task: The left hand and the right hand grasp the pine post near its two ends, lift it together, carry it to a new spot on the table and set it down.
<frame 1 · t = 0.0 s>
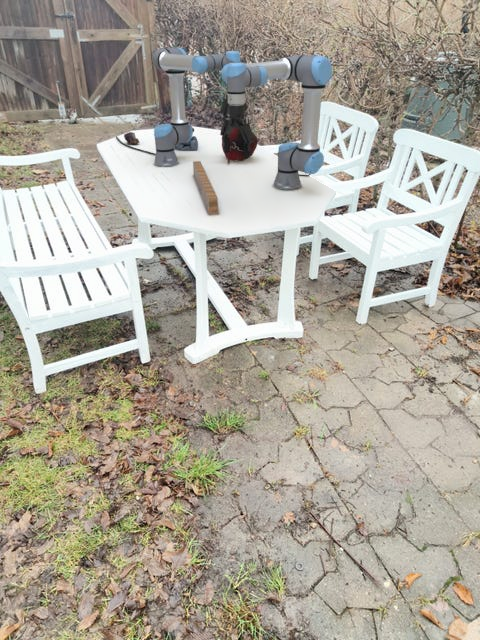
left hand: (234, 125, 259), 28 cm above the table, tool pointing down, fingers open, 13 cm apart
right hand: (236, 155, 205), 28 cm above the table, tool pointing down, fingers open, 13 cm apart
rock: (132, 144, 339), on the table
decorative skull: (239, 159, 302), on the table
post: (204, 192, 247), on the table
grey slotted block: (186, 148, 327), on the table
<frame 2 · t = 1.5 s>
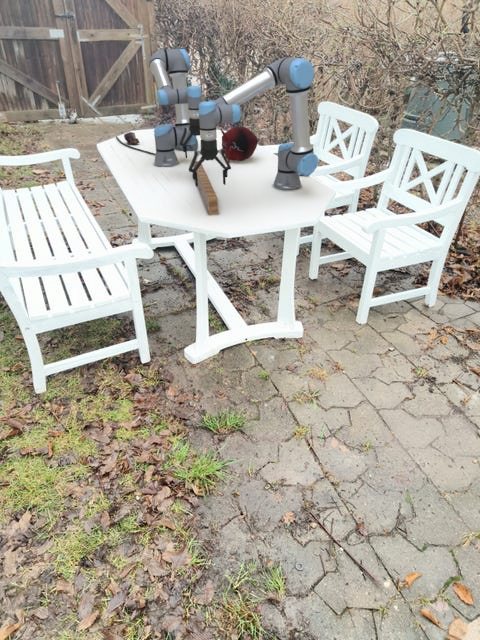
left hand: (198, 157, 261), 12 cm above the table, tool pointing down, fingers open, 13 cm apart
right hand: (210, 185, 218), 13 cm above the table, tool pointing down, fingers open, 13 cm apart
nothing on the table moved.
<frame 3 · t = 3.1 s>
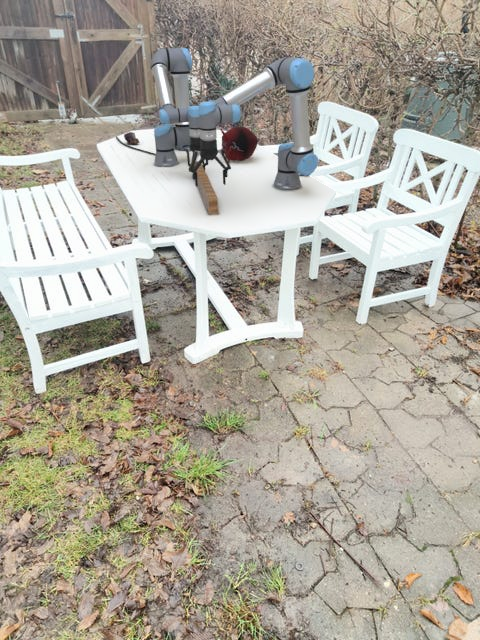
left hand: (198, 177, 268), 1 cm above the table, tool pointing down, fingers closed on post, 4 cm apart
right hand: (210, 185, 218), 12 cm above the table, tool pointing down, fingers open, 13 cm apart
post: (204, 192, 247), on the table, touching left hand
everything else where it was.
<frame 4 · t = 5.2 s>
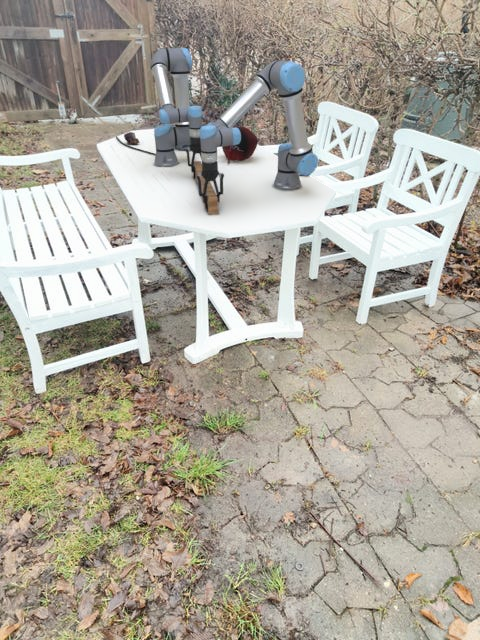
left hand: (198, 177, 268), 1 cm above the table, tool pointing down, fingers closed on post, 4 cm apart
right hand: (211, 208, 225), 1 cm above the table, tool pointing down, fingers closed on post, 4 cm apart
post: (204, 192, 247), on the table, touching left hand, right hand
everything else where it was.
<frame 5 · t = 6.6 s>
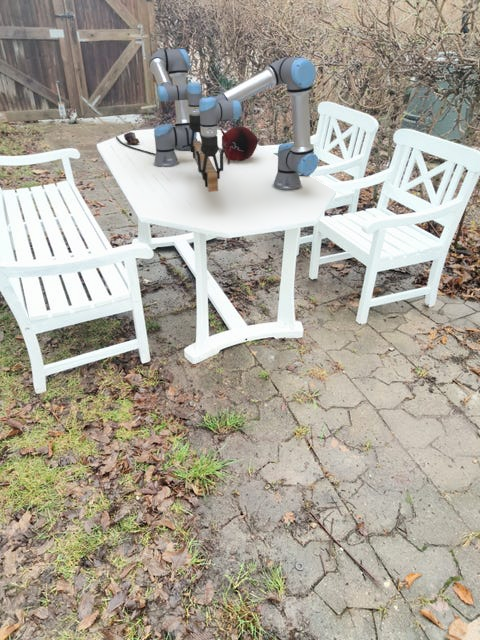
left hand: (198, 157, 261), 12 cm above the table, tool pointing down, fingers closed on post, 4 cm apart
right hand: (211, 185, 219), 12 cm above the table, tool pointing down, fingers closed on post, 4 cm apart
post: (204, 171, 240), point 11 cm above the table, touching left hand, right hand
everything else where it was.
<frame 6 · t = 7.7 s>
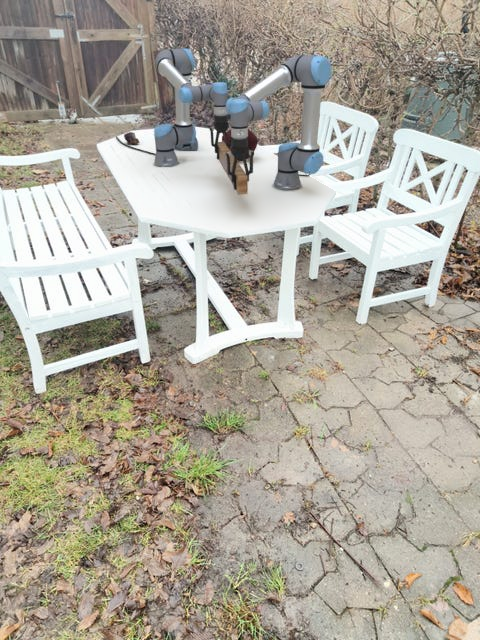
left hand: (222, 158, 257), 13 cm above the table, tool pointing down, fingers closed on post, 4 cm apart
right hand: (240, 188, 215), 12 cm above the table, tool pointing down, fingers closed on post, 4 cm apart
post: (230, 173, 237), point 12 cm above the table, touching left hand, right hand
everything else where it was.
when the left hand's fingers open (2 cm above the table, at t = 10.1 s): post drops 1 cm, on the table.
when the right hand's fingers open (2 cm above the table, at t = 10.2 s): post stays where it is, on the table.
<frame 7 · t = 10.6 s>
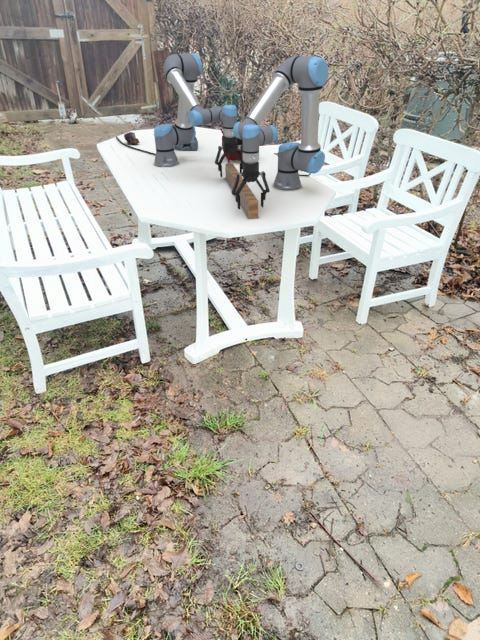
left hand: (231, 175, 262), 3 cm above the table, tool pointing down, fingers open, 11 cm apart
right hand: (250, 207, 219), 3 cm above the table, tool pointing down, fingers open, 11 cm apart
post: (240, 195, 242), on the table
everything else where it was.
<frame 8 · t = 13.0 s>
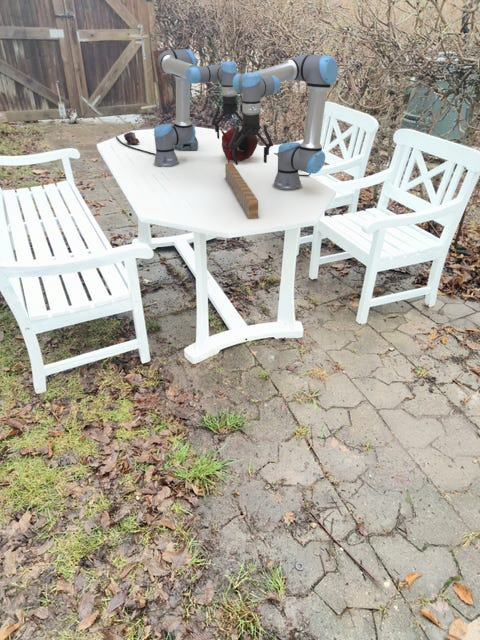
left hand: (230, 137, 250), 24 cm above the table, tool pointing down, fingers open, 13 cm apart
right hand: (250, 163, 207), 24 cm above the table, tool pointing down, fingers open, 13 cm apart
nothing on the table moved.
at the end: post inside the target area (0.1 cm from its centre), on the table; post tilted 0°; post never tilted more than 1° during the clip; both hands held the post at the same time; the left hand is holding nothing; the right hand is holding nothing; post at rest at the end (0.0 cm/s) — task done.
